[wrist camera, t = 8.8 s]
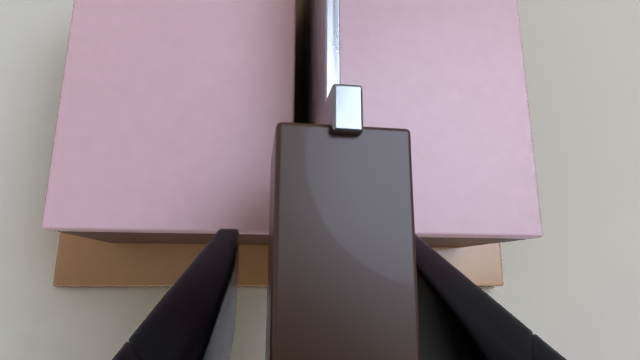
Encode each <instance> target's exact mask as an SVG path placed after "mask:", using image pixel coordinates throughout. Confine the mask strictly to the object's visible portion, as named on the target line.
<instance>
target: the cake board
mask: <svg viewBox="0 0 640 360" xmlns="http://www.w3.org/2000/svg"><path fill="white" fill-rule="evenodd" d="M295 44H296V42H295ZM294 102H295V100H294ZM206 245H207V244H159V243H109V242H104V241H99V240H95V239H90V238H85V237H80V236H76V235H71V234H66V233H62V232H60V239H59V246H58V254H57V261H56V269H55V276H54V284H53V285H54V286H55V287H122V286H173V285H174V284H175V282H176V281H177V280H178V279H179V278H180V276H181V275H182V274H183V273H184V271H185V270H186V269H187V268H188V267H189V265H190V264H191V263H192V262H193V260H194V259H195V258H196V257H197V256H198V254H199V253H200V252H201V251H202V249H203V248H204V247H205V246H206ZM268 248H269V245H239V269H238V285H237V286H267V283H268ZM432 248H433V249H434V250H435V251H436V252H437V253H439V254H440V255H441V256H442V257H443V258H445V259H446V260H447V261H448V262H449V263H451V264H452V265H453V266H454V267H455V268H457V269H458V270H459V271H460V272H461V273H463V274H464V275H465V276H466V277H467V278H469V279H470V280H471V281H472V282H473V283H475V284H476V285H477V286H503V276H502V265H501V253H500V243H492V244H484V245H476V246H468V247H432Z"/></svg>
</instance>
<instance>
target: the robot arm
mask: <svg viewBox="0 0 640 360" xmlns="http://www.w3.org/2000/svg"><path fill="white" fill-rule="evenodd" d="M415 249H416V271H417V293H418V316H419V338H420V360H566V359H565V358H564V357H563V356H561V355H560V354H559V353H558V352H556V351H555V350H554V349H553V348H551V347H550V346H549V345H548V344H547V343H545V342H544V341H543V340H542V339H541V338H539V337H538V336H537V335H536V334H533V333H532V331H531V330H530V329H528V328H527V327H526V326H525V325H524V324H523V323H521V322H520V321H519V320H518V319H517V318H515V317H514V316H513V315H512V314H511V313H509V312H508V311H507V310H506V309H505V308H503V307H502V306H501V305H500V304H499V303H497V302H496V301H495V300H494V299H493V298H491V297H490V296H489V295H488V294H487V293H485V292H484V291H483V290H482V289H481V288H479V287H478V286H477V285H476V284H475V283H473V282H472V281H471V280H470V279H469V278H467V277H466V276H465V275H464V274H463V273H461V272H460V271H459V270H458V269H457V268H455V267H454V266H453V265H452V264H451V263H449V262H448V261H447V260H446V259H445V258H443V257H442V256H441V255H440V254H439V253H437V252H436V251H435V250H434V249H433V248H432V247H430V246H429V245H428V244H427V243H426V242H424V241H423V240H422V239H421V238H420V237H418V236H417V235H416V234H415ZM238 269H239V231H238V229H226V228H222V229H219V230H218V231H217V232H216V234H215V235H214V236H213V237H212V238H211V240H210V241H209V242H208V243H207V245H206V246H205V247H204V248H203V249H202V251H201V252H200V253H199V254H198V256H197V257H196V258H195V259H194V260H193V262H192V263H191V264H190V265H189V267H188V268H187V269H186V270H185V271H184V273H183V274H182V275H181V276H180V278H179V279H178V280H177V281H176V282H175V284H174V285H173V286H172V287H171V288H170V290H169V291H168V292H167V293H166V295H165V296H164V297H163V298H162V299H161V301H160V302H159V303H158V304H157V306H156V307H155V308H154V309H153V310H152V312H151V313H150V314H149V315H148V317H147V318H146V319H145V320H144V321H143V323H142V324H141V325H140V326H139V328H138V329H137V330H136V331H135V332H134V334H133V335H132V336H131V337H130V339H129V342H126V343H125V344H124V345H123V347H122V348H121V349H120V350H119V352H118V353H117V354H116V355H115V357H114V358H113V359H112V360H229V358H230V352H231V347H232V342H233V336H234V329H235V318H236V302H237V285H238Z"/></svg>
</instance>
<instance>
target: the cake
mask: <svg viewBox="0 0 640 360" xmlns="http://www.w3.org/2000/svg"><path fill="white" fill-rule="evenodd" d="M295 42H296V0H74V6H73V13H72V20H71V26H70V33H69V40H68V47H67V54H66V61H65V68H64V75H63V82H62V89H61V96H60V103H59V110H58V117H57V124H56V131H55V138H54V145H53V152H52V159H51V166H50V173H49V180H48V187H47V194H46V201H45V208H44V215H43V222H42V228H44V229H47V230H51V231H58V232H62V233H66V234H71V235H76V236H80V237H85V238H90V239H95V240H99V241H104V242H109V243H159V244H207V243H208V242H209V241H210V240H211V238H212V237H213V236H214V235H215V234H216V232H217V231H218V230H219V229H222V228H226V229H238V231H239V245H269V213H270V179H271V157H272V150H273V143H274V136H275V129H276V126H277V123H280V122H290V123H294V100H295ZM340 80H341V84H346V85H360V86H362V89H363V126H364V127H382V128H401V129H408V130H409V131H410V136H411V159H412V181H413V204H414V226H415V234H416V235H417V236H418V237H420V238H421V239H422V240H423V241H424V242H426V243H427V244H428V245H429V246H430V247H468V246H476V245H484V244H492V243H500V242H508V241H516V240H524V239H532V238H540V237H542V235H543V234H542V225H541V215H540V206H539V197H538V188H537V179H536V169H535V160H534V151H533V142H532V133H531V123H530V114H529V105H528V96H527V87H526V77H525V68H524V59H523V50H522V41H521V31H520V22H519V13H518V4H517V0H340Z"/></svg>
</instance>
